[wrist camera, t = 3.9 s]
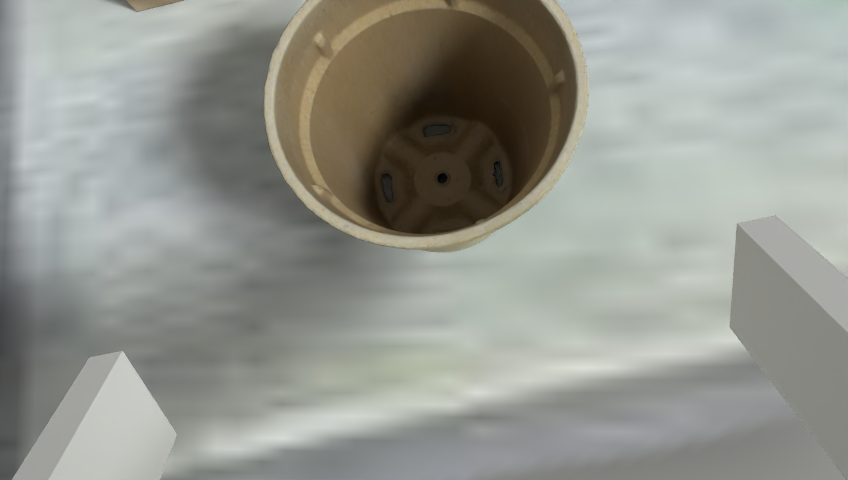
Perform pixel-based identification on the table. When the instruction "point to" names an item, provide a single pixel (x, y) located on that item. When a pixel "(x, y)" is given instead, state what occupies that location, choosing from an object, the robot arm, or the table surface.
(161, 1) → the plinth
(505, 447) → the table surface
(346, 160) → the flower pot
